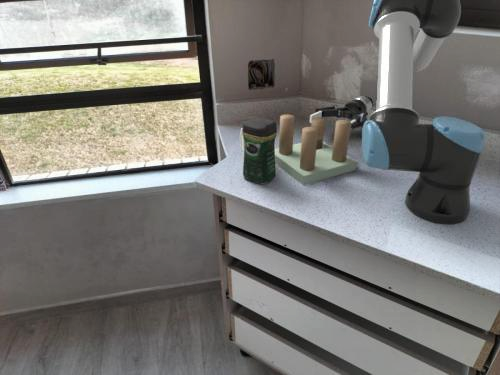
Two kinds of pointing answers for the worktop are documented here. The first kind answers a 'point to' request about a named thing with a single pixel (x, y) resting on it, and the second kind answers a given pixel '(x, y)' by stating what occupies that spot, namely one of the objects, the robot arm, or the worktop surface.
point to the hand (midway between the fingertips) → (327, 124)
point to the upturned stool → (313, 152)
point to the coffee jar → (259, 149)
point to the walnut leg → (319, 130)
